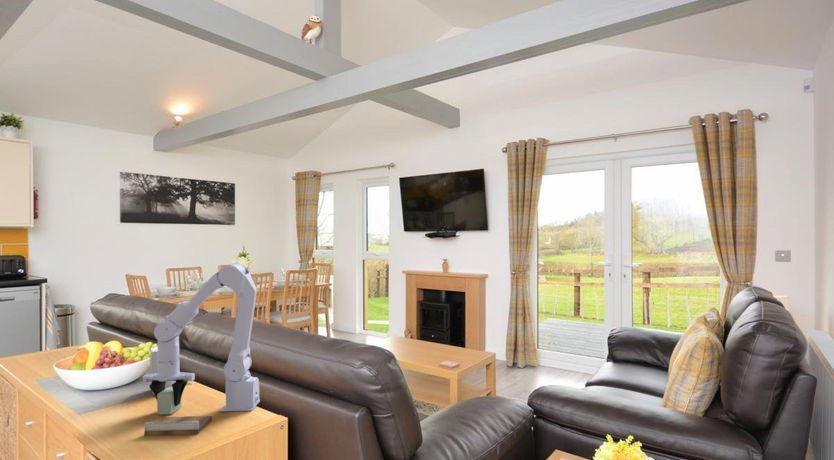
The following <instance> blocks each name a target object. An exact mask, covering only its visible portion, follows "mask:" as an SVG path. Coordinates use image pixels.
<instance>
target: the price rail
mask: <svg viewBox="0 0 834 460" xmlns="http://www.w3.org/2000/svg"><path fill="white" fill-rule="evenodd" d="M143 426H144V431H165V430H198V429H199V421H174V422H157V421H150V422H149V421H146V422H144V425H143Z"/></svg>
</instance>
